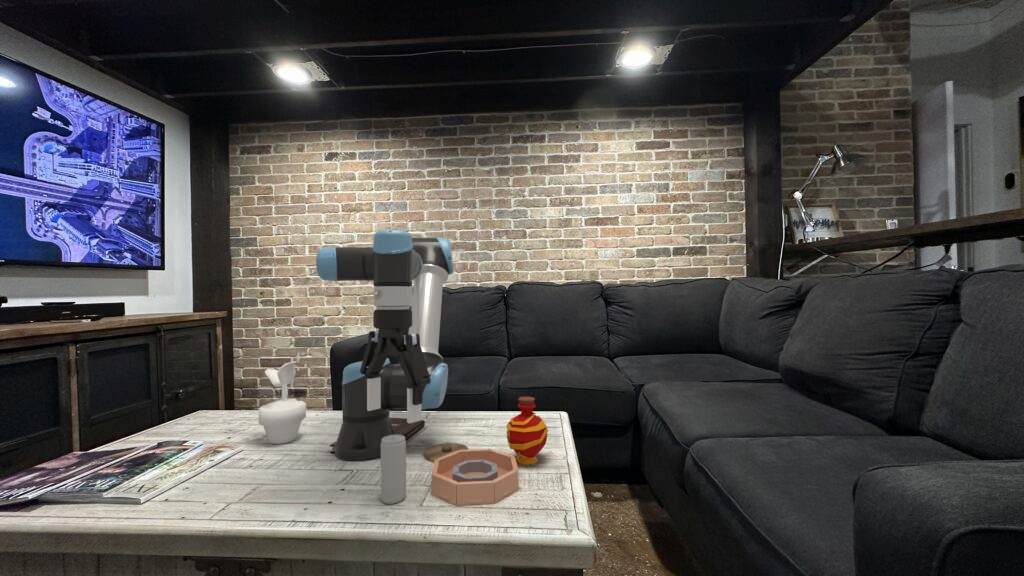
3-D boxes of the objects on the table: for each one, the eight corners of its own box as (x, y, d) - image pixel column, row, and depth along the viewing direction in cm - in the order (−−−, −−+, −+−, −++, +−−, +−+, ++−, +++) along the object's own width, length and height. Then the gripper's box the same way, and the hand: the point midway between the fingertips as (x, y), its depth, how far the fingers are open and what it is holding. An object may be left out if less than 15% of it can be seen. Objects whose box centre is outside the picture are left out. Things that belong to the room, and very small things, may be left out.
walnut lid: (415, 457, 105) (415, 447, 105) (448, 445, 113) (448, 435, 113) (444, 468, 98) (444, 457, 98) (477, 454, 106) (477, 444, 106)
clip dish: (414, 486, 88) (414, 467, 88) (474, 459, 102) (474, 443, 102) (475, 515, 76) (475, 493, 76) (534, 480, 90) (533, 462, 90)
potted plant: (314, 438, 118) (314, 349, 118) (272, 451, 108) (273, 355, 108) (289, 430, 125) (290, 347, 125) (248, 442, 115) (248, 351, 115)
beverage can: (383, 507, 79) (383, 444, 79) (378, 496, 84) (378, 436, 84) (408, 501, 82) (408, 440, 82) (402, 491, 86) (402, 432, 86)
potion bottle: (545, 470, 95) (545, 405, 96) (501, 467, 97) (501, 403, 98) (550, 453, 106) (550, 394, 106) (510, 450, 108) (510, 392, 108)
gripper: (343, 307, 88) (342, 408, 88) (416, 309, 72) (416, 432, 72) (374, 307, 94) (374, 401, 93) (449, 308, 78) (449, 422, 78)
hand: (393, 415), depth 83 cm, fingers open, 13 cm apart
